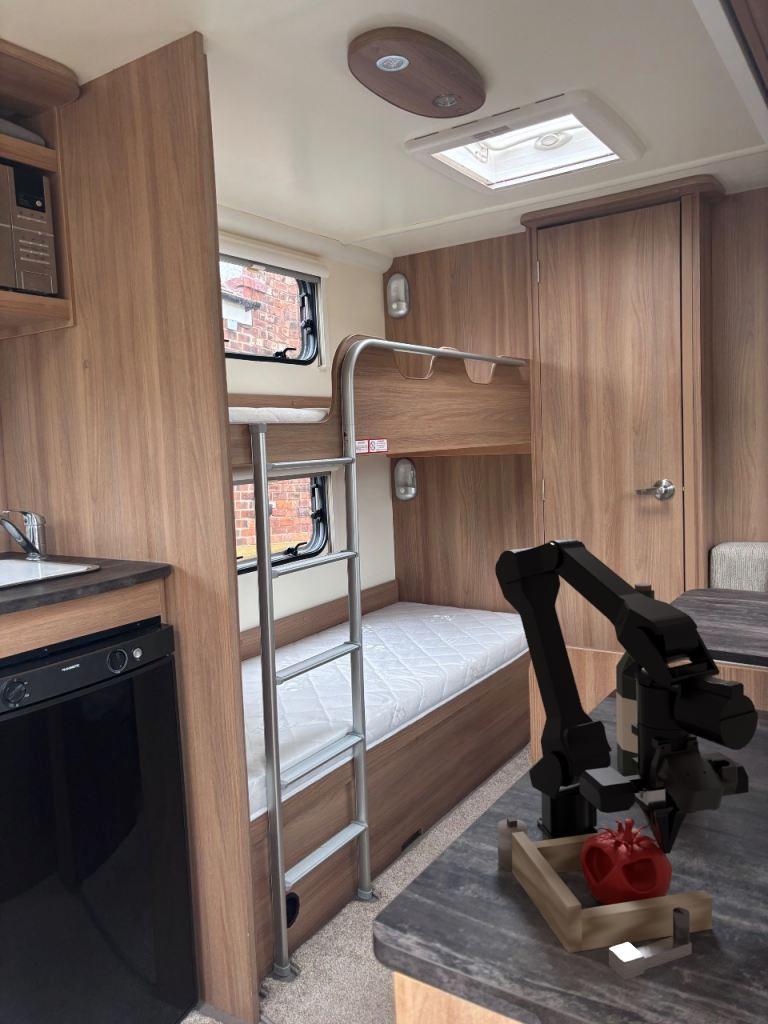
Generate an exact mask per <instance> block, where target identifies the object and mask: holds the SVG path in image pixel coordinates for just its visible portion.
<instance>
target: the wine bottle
mask: <svg viewBox="0 0 768 1024" xmlns="http://www.w3.org/2000/svg"><path fill="white" fill-rule="evenodd" d="M634 589H636V590H637V591H638V592H639V593H641V594H643V595H645V596H646V597H649V598H652V599H655V589H653V588H652V584H650V583H646V582H645V583H644V582H643V583H635V584H634ZM633 661H634V660H633V659H632V658H631V656H630V655H629V654H628V653H627V651H626V650H625V652H624V653H623V655H622V656H621V658H620V659H619V660H618V662H617V664H616V666H615V667H616V668H615V669H616V670H615V671H616V672H615V673H616V674H615V675H616V677H615V686H616V690H615V691H616V693H615V694H616V695H615V696H616V698H615V699H616V767H617V769H618V770H619V773H620V774H621V775H622V776H624V777H625V776H632V775H638V770H637V769H635V768H634V767H632V758H636V757H638V743H637V736H636V735H635V734H633V733H632V730H631V724H637V685H636V681H637V680H635V679H632V678H629V677H626V676H624V675H623V674H622V670H624V669H625V668H626V667H628V666H629V665H630V664H631V663H632V662H633ZM666 666H667V668H670V667H671V666H670V665H669V664H666Z"/></svg>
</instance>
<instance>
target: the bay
mask: <svg viewBox="0 0 768 1024" xmlns="http://www.w3.org/2000/svg"><path fill="white" fill-rule="evenodd" d="M637 829H638V828H636V827H633V828H632V832H633V831H636V830H637ZM527 830H528V827H527V824H526V822H525V821H523V820H521V819H517V818H516V817H515V816H511V817H506V818H504V819H502V820H500V821H498V822H497V853H498V854H497V856H498V860H497V861H498V862H497V863H498V867H500V868H501V869H503V870H505V871H508V872H512V873H513V875H514V876H515V878H516V880H517V881H518V882H519V884H520V885H521V887H522V888H523V890H524V891H525V893H526V894H527V896H528V897H529V898H530V900H531V901H532V903H533V904H534V905H535V907H536V909H537V910H538V911H539V913H540V914H541V916H542V917H543V918H544V920H545V922H546V923H547V924H548V926H549V927H550V929H551V931H552V932H553V933H554V935H555V936H556V937H557V939H558V940H559V942H560V943H561V945H562V946H563V947H564V949H565V951H566V952H567V954H572V953H579V952H584V951H589V950H596V949H601V948H608V947H614V946H617V945H620V944H623V943H627V942H629V943H630V944H632V943H636V942H644V941H649V940H654V939H661V938H666V937H667V938H668V937H673V909H674V908H677V907H680V908H684V909H686V910H688V911H689V913H690V934H691V933H697V932H701V931H707V930H712V929H713V909H712V908H713V898H712V896H711V895H709V893H708V892H706V891H705V890H704V889H702V890H701V889H700V890H697V891H695V890H694V891H689V892H683V893H675V894H670V895H666V896H663V897H656V898H650V899H644V900H637V901H631V902H625V903H618V904H612V905H599V906H594V907H588V908H583V909H582V904H581V902H580V900H578V899H577V897H576V896H575V895H574V893H573V892H572V891H571V889H569V887H568V886H567V885H566V884H565V882H564V881H563V880H562V878H561V877H560V876H559V875H558V873H564V872H571V871H577V870H578V871H579V870H582V863H581V858H580V855H581V852H582V846H583V843H584V842H585V841H586V840H587V839H588V838H589V837H591V836H593V835H597V834H601V833H604V832H605V831H602V832H599V833H593V834H586V835H579V836H572V837H564V838H557V839H551V838H550V839H545V840H538V841H537V840H536V841H531V840H530V838H529V837H528V831H527ZM638 834H640V835H642V833H641V832H640V831H639V833H638Z"/></svg>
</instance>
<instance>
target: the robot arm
mask: <svg viewBox="0 0 768 1024" xmlns="http://www.w3.org/2000/svg"><path fill="white" fill-rule="evenodd" d="M494 571H495V576H496V579H497V582H498V584H499V585H498V586H499V587H500V590H501V593H502V596H503V598H504V599H505V600H506V602H508V604H510V605H511V607H513V609H514V610H515V611H516V612H517V613H518V615H519V617H520V621H521V624H522V628H523V632H524V635H525V639H526V644H527V647H528V650H529V651H528V652H529V655H530V658H531V663H532V667H533V670H534V674H535V678H536V682H537V685H538V689H539V693H540V697H541V701H542V705H543V709H544V713H545V723H544V727H543V730H542V734H541V737H540V746H541V747H540V748H541V752H542V757H541V759H540V760H538V761H537V763H536V764H534V765H533V766H532V767H531V768H530V769H529V770H528V774H529V779H530V784H531V786H532V788H534V789H536V790H537V791H539V792H541V796H540V797H541V798H540V800H541V801H540V802H541V817H537V818H536V822H537V824H538V825H539V826H540V827H541V828H542V830H543V831H544V832H545V833H546V834H547V836H548V837H549V838H550V839H557V838H564V837H572V836H579V835H586V834H593V833H600V832H599V830H595V829H596V828H597V827H598V811H599V812H600V813H604V814H612V813H613V814H614V813H619V812H626V811H630V810H631V808H632V807H633V806H634V805H635V803H636V804H637V805H638V806H639V808H640V809H641V811H642V813H643V815H644V817H645V819H646V822H647V823H648V824H649V826H648V827H649V828H650V830H651V832H652V835H653V837H654V840H657V841H656V842H655V843H656V845H657V846H658V847H659V848H660V849H661V850H662V851H663V852H664V853H665V855H668V854H671V851H672V850H673V848H674V845H675V841H676V839H677V836H678V834H679V832H680V828H681V826H682V824H683V822H684V820H685V818H686V816H687V814H688V815H689V814H695V813H697V812H702V811H708V810H711V811H716V810H719V809H720V807H721V803H722V799H723V797H726V796H733V795H739V794H746V793H747V794H748V793H749V792H750V783H751V782H750V781H751V780H750V777H751V776H750V774H749V773H748V770H747V769H746V768H745V766H744V765H743V764H740V763H739V762H737V761H736V760H733V759H732V758H730V757H729V756H727V755H725V754H724V753H722V752H720V751H719V752H712V753H702V754H701V752H700V748H699V741H698V738H701V739H703V740H705V741H709V742H711V743H714V744H717V745H720V746H722V747H725V748H728V749H730V750H734V751H739V750H741V749H743V748H745V747H746V746H747V745H748V744H749V743H750V742H751V741H752V739H753V738H754V736H755V733H756V731H757V728H758V719H759V713H758V711H757V710H756V707H755V704H754V702H753V701H752V699H751V698H750V697H749V696H747V695H745V690H744V689H745V687H744V686H745V685H744V684H743V683H742V682H740V681H736V680H725V679H721V678H718V677H715V676H719V675H720V669H719V667H718V666H717V664H716V662H715V660H714V658H713V656H712V654H710V651H709V650H708V647H707V646H706V643H704V640H703V638H702V636H701V634H700V633H699V631H698V630H697V629H698V625H697V623H696V622H695V620H694V619H693V618H692V617H691V616H690V615H689V614H688V613H686V612H684V611H682V610H681V609H678V608H677V607H676V606H675V607H674V606H673V605H672V604H669V603H668V602H665V601H662V600H659V599H655V598H654V599H652V598H649V597H646V596H645V595H643V594H641V593H639V592H638V591H637V590H636V589H635V587H633V586H632V585H631V584H630V583H628V582H627V581H626V580H624V578H622V577H621V576H620V575H619V574H618V573H616V572H615V571H614V570H613V569H611V568H610V567H609V566H607V564H605V563H604V562H603V561H602V560H600V559H599V558H597V556H596V555H594V554H593V553H591V552H590V550H589V549H587V547H586V546H585V544H584V542H582V541H581V540H580V539H577V538H563V539H555V540H549V541H547V542H546V543H542V544H540V545H538V546H535V547H525V548H516V549H507V550H504V551H503V552H502V553H500V555H499V557H498V560H497V561H496V563H495V567H494ZM560 578H562V580H564V581H565V582H566V583H567V584H569V586H570V587H572V588H573V590H575V591H576V592H577V593H578V594H580V596H582V597H583V598H584V599H585V600H586V601H588V603H589V604H591V606H593V607H594V608H595V609H596V610H597V611H598V612H600V614H602V615H603V616H604V617H605V618H606V619H608V620H609V622H610V623H611V624H612V626H613V627H614V632H615V634H616V640H617V641H618V643H619V644H620V645H621V647H622V648H623V649H624V650H625V652H626V651H627V653H628V654H629V655H630V656H631V658H632V659H633V660H634V661H633V662H632V663H631V664H630V665H629V666H628V667H626V668H625V669H624V670H622V674H623V675H624V676H626V677H629V678H632V679H635V680H637V681H636V685H637V724H631V730H632V733H633V734H635V735H636V736H637V743H638V757H636V758H632V767H634V768H635V769H637V770H638V775H632V776H624V775H622V773H621V772H618V771H617V770H616V769H615V768H614V767H612V766H611V765H612V764H611V763H612V761H611V760H612V759H611V754H610V753H611V752H612V751H613V750H612V748H611V746H610V743H609V742H608V737H607V734H606V728H605V725H604V724H603V721H601V720H596V721H594V720H593V719H592V718H591V717H590V716H589V715H588V714H587V713H586V712H585V710H584V708H583V705H582V702H581V698H580V695H579V690H578V686H577V682H576V680H575V675H574V672H573V667H572V664H571V661H570V657H569V652H568V650H567V646H566V642H565V638H564V636H563V631H562V628H561V624H560V619H559V616H558V612H557V609H556V603H557V599H558V595H559V591H560V589H561V581H560V580H561V579H560ZM688 660H689V661H690V662H687V663H684V664H680V665H679V664H678V665H675V666H669V667H670V668H667V666H666V664H668V665H669V664H673V663H679V662H682V661H683V662H684V661H688ZM648 824H647V825H648Z"/></svg>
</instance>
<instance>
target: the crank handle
mask: <svg viewBox="0 0 768 1024" xmlns="http://www.w3.org/2000/svg"><path fill="white" fill-rule="evenodd" d="M690 934H691V933H690V913H689V911H688V910H686V909H684V908H680V907H677V908H674V909H673V936H669V937H667V938H666V937H665V938H664V939H661V940H657V941H654V942H652V943H649V944H648V943H647V944H645V945H642V946H639V947H635V946H633V944H632V943H629V942H627V943H623V944H620V945H614V946H610V947H609V948H608V966H609V967H610V968H612V969H613V970H614V971H615V973H617V974H618V975H619V976H620V977H621V978H622V979H623V980H625V981H626V980H628V979H630V978H631V979H632V978H634V977H637V976H640V975H643V974H645V970H647V969H651V968H653V967H656V966H657V967H658V966H659V965H662V964H666V963H668V962H671V961H675V960H678V959H680V958H684V957H687V956H690V955H692V948H693V946H692V941H690V939H691V938H690V936H691V935H690Z"/></svg>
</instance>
